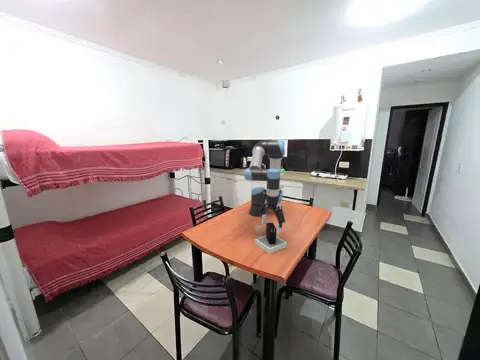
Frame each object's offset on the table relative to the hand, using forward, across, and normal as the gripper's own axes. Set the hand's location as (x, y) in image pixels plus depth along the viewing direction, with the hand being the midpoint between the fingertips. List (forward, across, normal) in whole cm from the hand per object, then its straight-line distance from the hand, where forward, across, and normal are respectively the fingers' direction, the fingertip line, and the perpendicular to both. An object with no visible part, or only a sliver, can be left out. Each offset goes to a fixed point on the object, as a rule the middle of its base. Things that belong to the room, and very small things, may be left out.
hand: (271, 227), depth 124 cm
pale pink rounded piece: (+12, -16, +4) cm, 20 cm away
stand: (+12, 0, 0) cm, 12 cm away
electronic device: (+8, 0, 0) cm, 9 cm away
